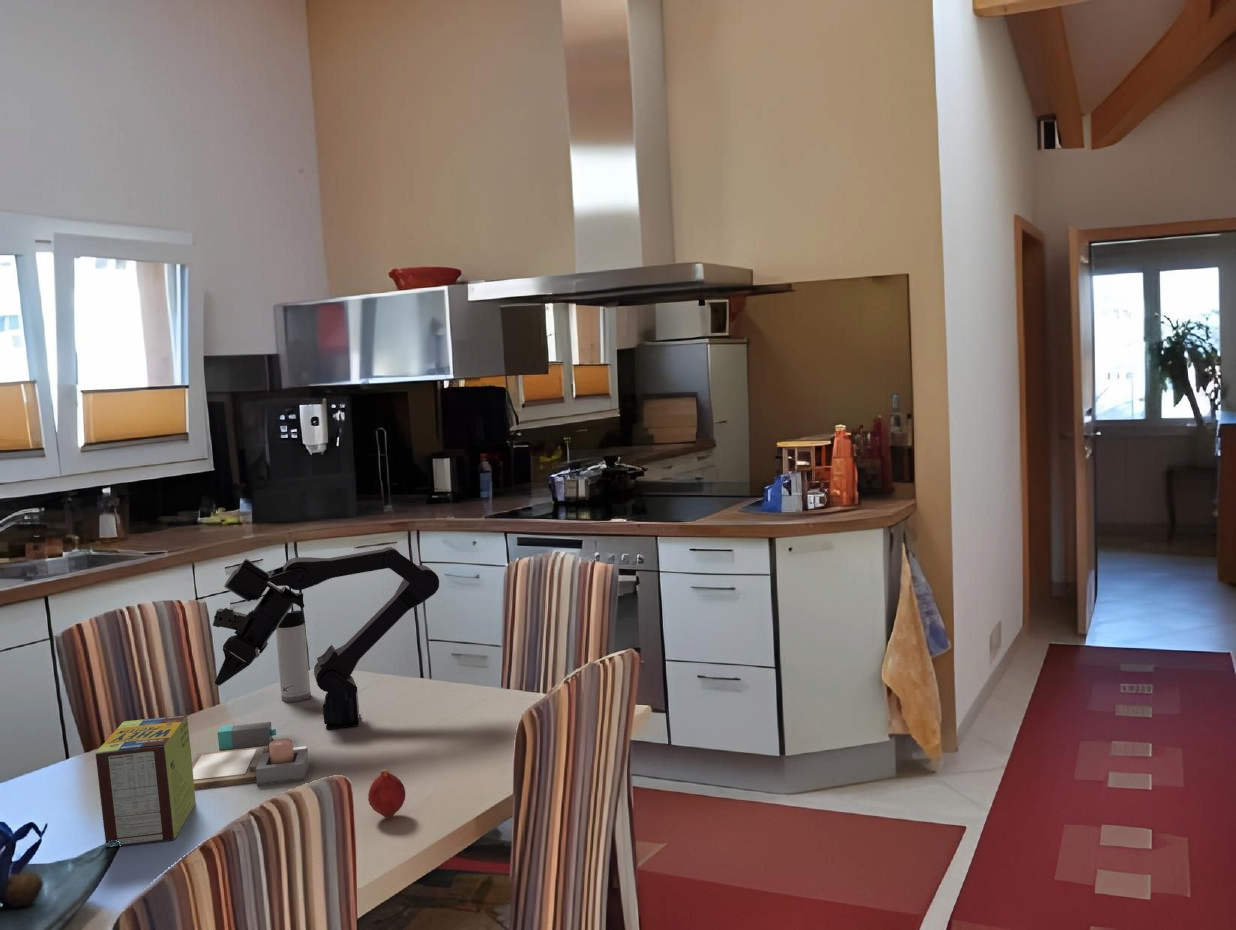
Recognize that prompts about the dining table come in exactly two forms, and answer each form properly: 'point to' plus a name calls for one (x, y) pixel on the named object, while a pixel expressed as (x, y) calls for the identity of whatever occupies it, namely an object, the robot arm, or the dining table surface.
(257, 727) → the block
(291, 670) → the travel mug
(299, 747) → the card
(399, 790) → the onion
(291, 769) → the button housing
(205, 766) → the clipboard
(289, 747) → the button
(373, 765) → the dining table surface
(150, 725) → the protein box
